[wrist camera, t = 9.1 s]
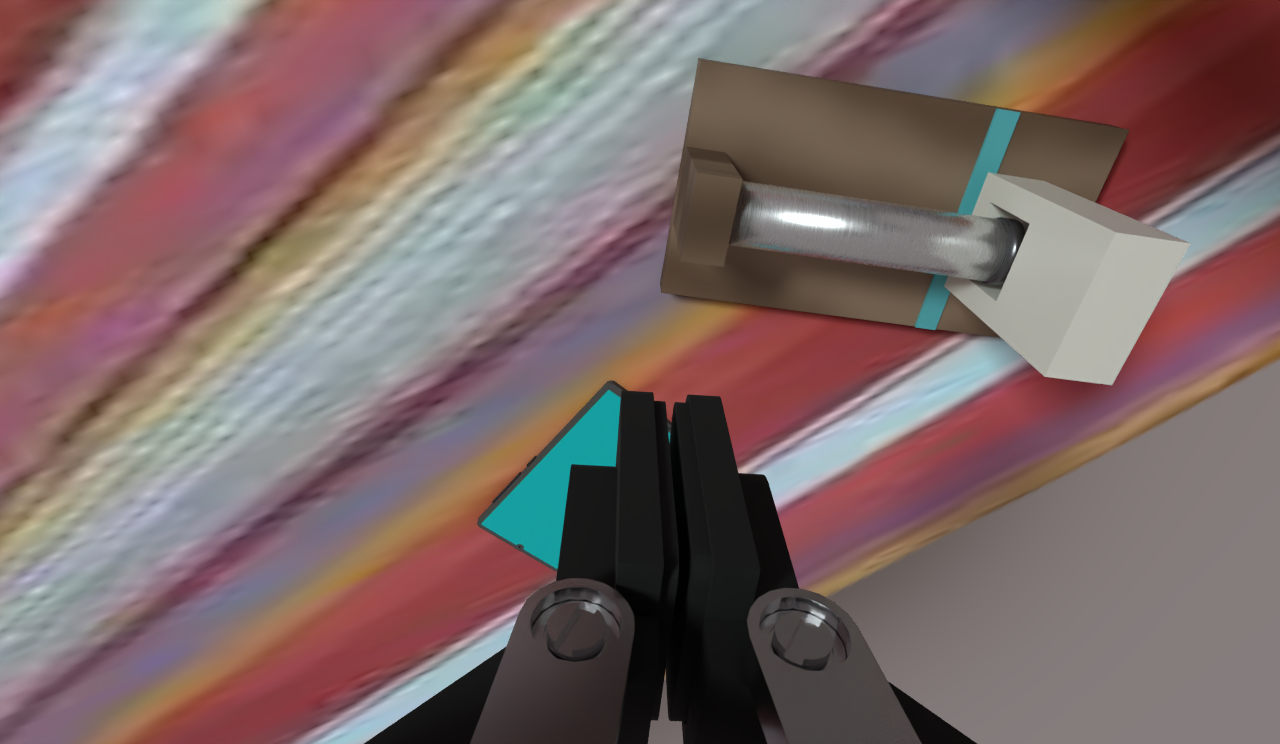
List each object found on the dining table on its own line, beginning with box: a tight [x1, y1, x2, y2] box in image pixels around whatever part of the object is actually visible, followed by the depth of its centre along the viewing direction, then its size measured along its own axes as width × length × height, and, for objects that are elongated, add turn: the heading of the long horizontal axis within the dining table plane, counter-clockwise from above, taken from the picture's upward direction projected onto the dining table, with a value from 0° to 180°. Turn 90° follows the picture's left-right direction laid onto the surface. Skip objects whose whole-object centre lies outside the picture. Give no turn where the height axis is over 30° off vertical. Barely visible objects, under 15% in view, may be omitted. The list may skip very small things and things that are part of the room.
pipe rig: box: [660, 58, 1129, 338], centre depth 34 cm, size 12×22×8 cm, turn 82°
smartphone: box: [477, 381, 672, 571], centre depth 46 cm, size 7×1×15 cm
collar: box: [944, 172, 1191, 385], centre depth 31 cm, size 6×3×10 cm, turn 172°
